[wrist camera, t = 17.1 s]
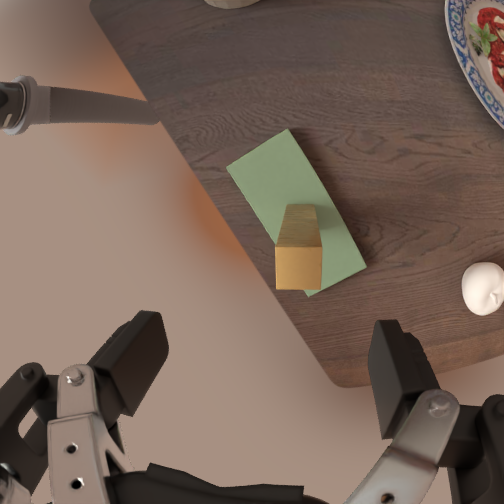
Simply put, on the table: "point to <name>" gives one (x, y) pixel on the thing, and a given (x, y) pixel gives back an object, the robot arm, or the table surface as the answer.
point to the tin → (230, 3)
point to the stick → (299, 249)
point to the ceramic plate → (480, 48)
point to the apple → (483, 287)
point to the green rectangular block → (295, 201)
